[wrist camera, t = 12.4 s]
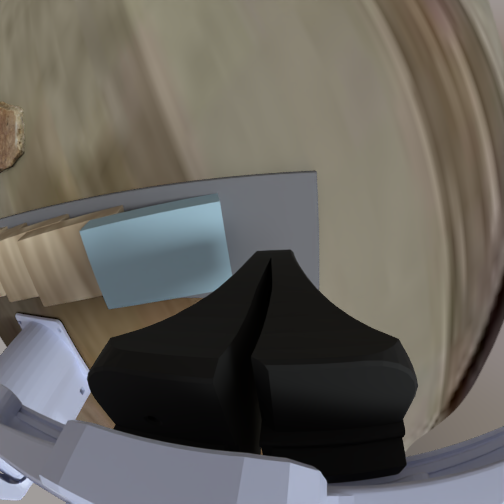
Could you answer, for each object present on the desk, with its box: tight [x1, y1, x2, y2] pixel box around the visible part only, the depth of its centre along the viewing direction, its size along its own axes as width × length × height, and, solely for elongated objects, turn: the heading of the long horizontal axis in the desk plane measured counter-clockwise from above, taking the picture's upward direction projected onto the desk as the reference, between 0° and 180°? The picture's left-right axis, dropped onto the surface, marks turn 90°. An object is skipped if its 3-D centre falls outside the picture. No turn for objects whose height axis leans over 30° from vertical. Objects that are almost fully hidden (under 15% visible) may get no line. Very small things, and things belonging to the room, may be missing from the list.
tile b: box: [0, 214, 70, 302], centre depth 16 cm, size 2×5×7 cm
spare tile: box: [79, 193, 232, 309], centre depth 14 cm, size 2×5×7 cm
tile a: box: [17, 205, 124, 307], centre depth 15 cm, size 2×5×7 cm
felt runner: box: [0, 171, 319, 298], centre depth 17 cm, size 7×26×1 cm, turn 96°
